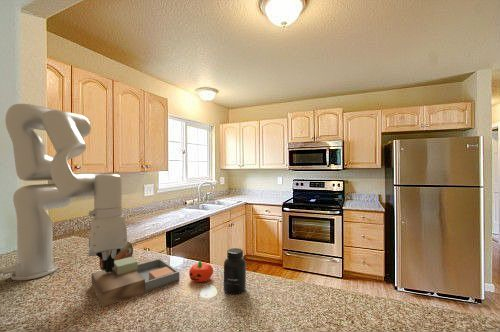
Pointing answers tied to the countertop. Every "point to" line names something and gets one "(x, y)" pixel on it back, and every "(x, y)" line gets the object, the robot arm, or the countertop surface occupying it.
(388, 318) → the countertop surface
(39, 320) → the countertop surface
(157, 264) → the box
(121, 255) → the tin
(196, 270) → the pumpkin
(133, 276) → the tan slab
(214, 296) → the countertop surface
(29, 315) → the countertop surface
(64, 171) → the robot arm
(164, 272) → the tile
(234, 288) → the supplement bottle
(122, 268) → the tile
